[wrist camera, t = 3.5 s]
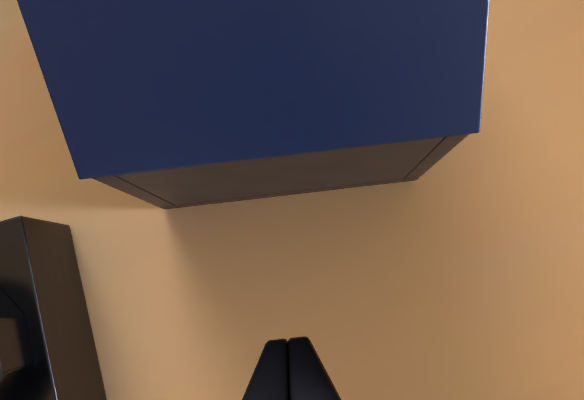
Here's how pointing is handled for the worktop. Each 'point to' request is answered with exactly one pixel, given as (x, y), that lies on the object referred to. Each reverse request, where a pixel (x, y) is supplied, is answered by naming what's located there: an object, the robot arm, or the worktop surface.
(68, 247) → the red push button box
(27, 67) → the worktop surface
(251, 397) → the robot arm
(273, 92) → the lid
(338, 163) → the dark grey housing
